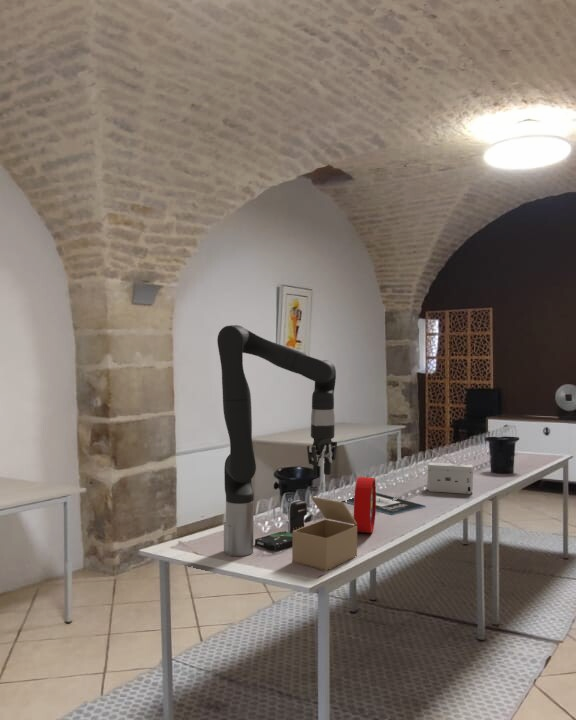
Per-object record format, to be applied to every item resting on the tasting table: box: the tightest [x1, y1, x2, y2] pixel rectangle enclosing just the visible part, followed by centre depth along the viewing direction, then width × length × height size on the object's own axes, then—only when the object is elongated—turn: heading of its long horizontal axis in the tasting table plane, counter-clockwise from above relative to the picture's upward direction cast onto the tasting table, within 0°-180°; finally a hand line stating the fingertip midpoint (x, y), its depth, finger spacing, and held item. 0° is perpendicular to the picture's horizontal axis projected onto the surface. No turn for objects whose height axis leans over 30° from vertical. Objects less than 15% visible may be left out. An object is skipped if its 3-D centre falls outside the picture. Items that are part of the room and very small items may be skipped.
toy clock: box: [353, 476, 377, 534], centre depth 247 cm, size 20×6×20 cm, turn 167°
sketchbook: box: [347, 492, 427, 516], centre depth 290 cm, size 22×30×2 cm
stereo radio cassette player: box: [427, 449, 474, 495], centre depth 315 cm, size 21×8×20 cm, turn 76°
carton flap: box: [311, 496, 357, 525], centre depth 219 cm, size 12×12×1 cm
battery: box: [287, 499, 308, 534], centre depth 245 cm, size 7×4×11 cm, turn 134°
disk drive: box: [254, 530, 293, 553], centre depth 231 cm, size 10×3×15 cm
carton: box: [291, 518, 358, 572], centre depth 215 cm, size 18×13×10 cm
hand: (322, 475), depth 213 cm, fingers open, 5 cm apart
